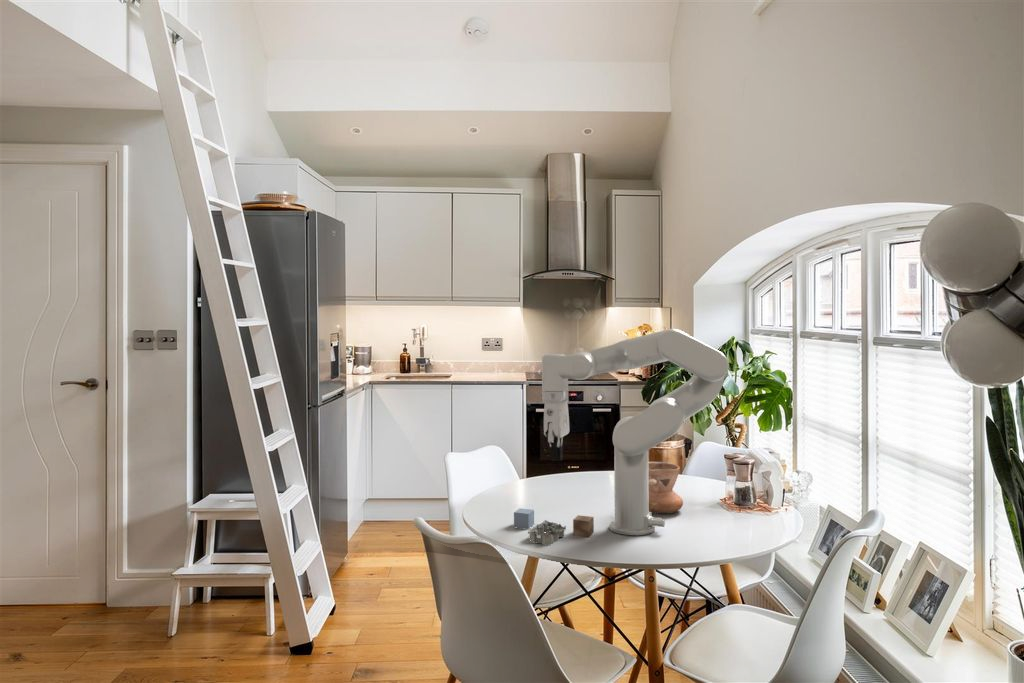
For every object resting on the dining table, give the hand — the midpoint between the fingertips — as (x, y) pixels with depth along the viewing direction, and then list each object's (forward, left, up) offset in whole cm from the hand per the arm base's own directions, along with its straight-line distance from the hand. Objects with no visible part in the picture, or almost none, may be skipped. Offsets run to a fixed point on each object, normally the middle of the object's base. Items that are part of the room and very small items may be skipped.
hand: (556, 460), depth 184 cm
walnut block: (-9, +5, -19) cm, 22 cm away
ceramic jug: (-25, -26, -19) cm, 41 cm away
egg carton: (-1, +12, -19) cm, 23 cm away
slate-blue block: (+9, +4, -19) cm, 21 cm away
